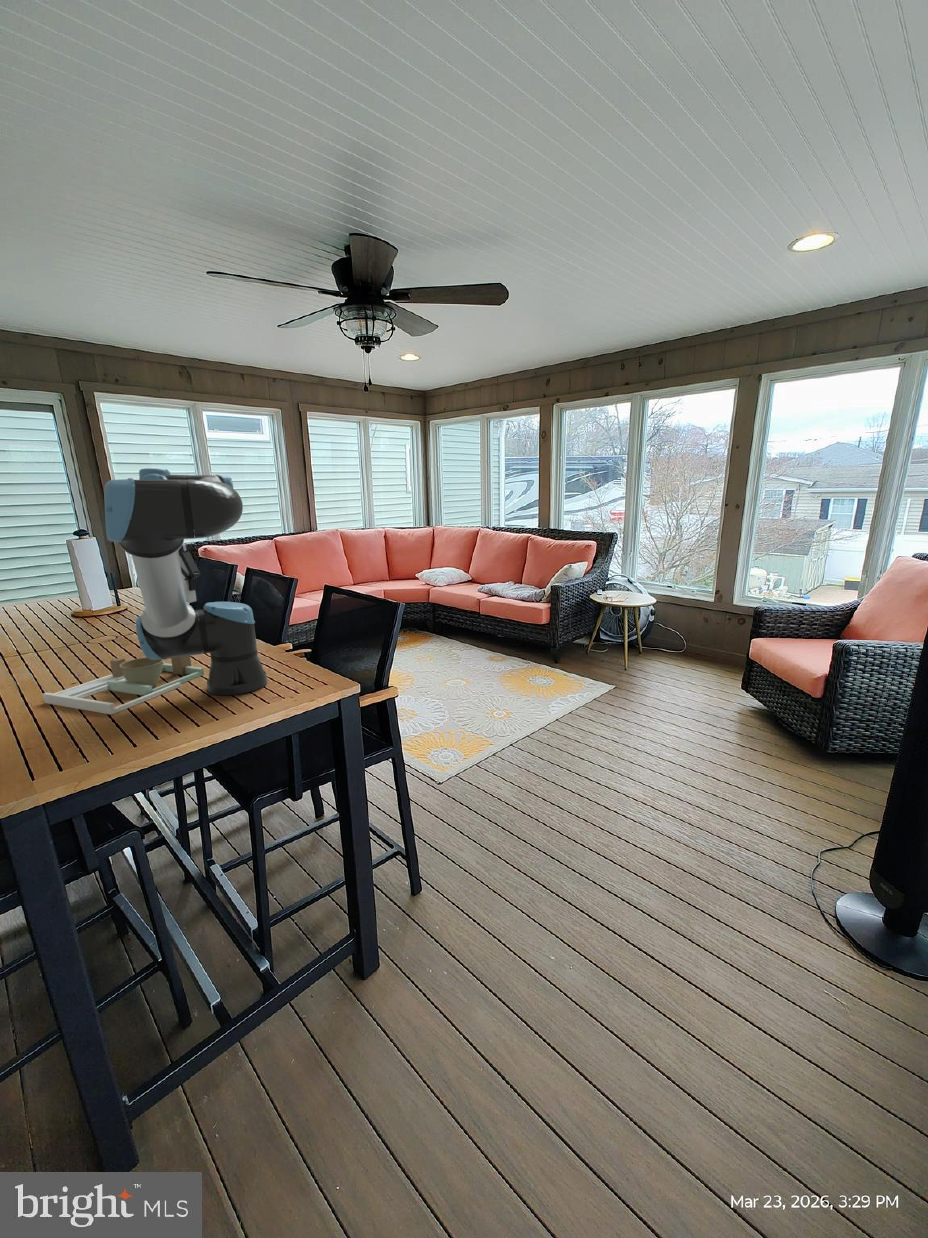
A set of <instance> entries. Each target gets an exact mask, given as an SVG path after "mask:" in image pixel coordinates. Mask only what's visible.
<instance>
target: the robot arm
mask: <svg viewBox="0 0 928 1238" xmlns="http://www.w3.org/2000/svg"><path fill="white" fill-rule="evenodd" d="M138 475H139V479H134V478H132V477H129V478H125V479H124V478H123V479H110V480H108V481H107V482H106V483H105V484H104V489H103V491H104V492H103V493H104V494H103V495H104V496H103V498H104V502H103V503H104V517H105V518H104V519H105V521H104V522H105V529H106V530H105V533H106V539H107V541H109V542H113V543H118V544H119V546H120V548H121V549H122V550H123V551H124V552H126V553H127V554H128V555H131V558H132V562H133V566H134V570H135V574H136V577H137V581H138V584H139V588H140V593H141V596H142V601H143V604H144V608H145V609H144V610H143V612H142V614H141V615H139V616H137V618H136V619H135V630H136V636H137V639H138V642H139V646H140V649H141V651H142V654H143V655H144V656H145V658H146V657H147V658H148V659H151V660H158V659H163V661H164V660H169V659H171V658H176V657H183V656H190V657H191V656H196V655H197V656H198V655H204V654H205V655H206V654H210V655H209V656H210V661H211V662H210V667H209V674H208V678H207V679H206V687H207V692H208V693H210V694H212V695H216V696H235V695H236V696H237V695H243V694H246V693H251V692H254V691H257V690H259V689H261V688H263V687H265V686H266V685H267V684H268V676H267V675H268V674H267V672H266V671H265V670H264V668H263V665H262V662H261V660H260V658H259V653H258V648H257V639H256V638H257V637H256V631H255V628H256V627H255V624H256V620H254V612H253V609H252V608H251V606H250V605H248V604H245V603H241V602H236V601H235V602H234V601H233V602H232V601H214V602H210V601H209V602H206V603H205V604H204V605H203V609H194V608H193V606H192V605H190V604H189V603H194V602H197V601H198V599H197V593H196V590H197V583H196V579H197V578H199V577H201V576H202V575H201V572H200V569H199V568H198V566H197V564H196V562H195V560H194V558H193V555H192V554H191V552H190V548H189V544H187V543H184V541H185V540H191V539H194V540H195V539H205V538H210V537H213V536H217V535H219V534H221V533H225V532H226V531H227V530H229V529H231V528H232V527H234V526H235V525H236V524H237V523H238V521H240V519H241V518H242V517H241V516H242V514H243V509H244V505H243V500H242V498H241V496H240V494H239V492H238V491H237V490H236V489H235V488H234V484H233V479H232V477H231V476H230V475H220V474H215V475H214V474H213V475H212V474H211V475H210V474H208V475H206V474H205V475H204V474H197V475H196V474H194V475H193V474H171V471H169V469H167V468H166V469H165V468H151V467H150V468H149V467H148V468H141V469H139V470H138ZM183 576H184V579H183Z"/></svg>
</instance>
